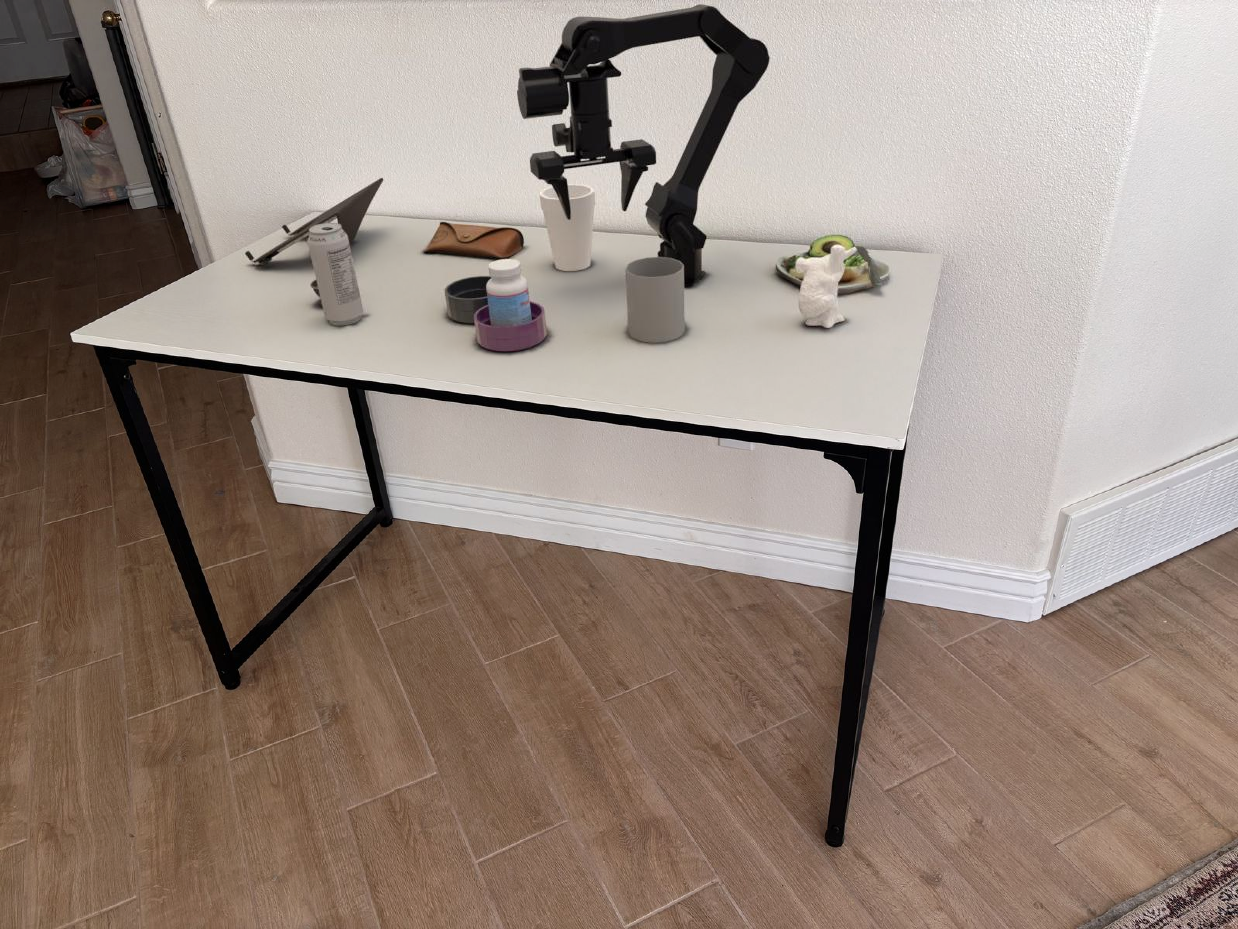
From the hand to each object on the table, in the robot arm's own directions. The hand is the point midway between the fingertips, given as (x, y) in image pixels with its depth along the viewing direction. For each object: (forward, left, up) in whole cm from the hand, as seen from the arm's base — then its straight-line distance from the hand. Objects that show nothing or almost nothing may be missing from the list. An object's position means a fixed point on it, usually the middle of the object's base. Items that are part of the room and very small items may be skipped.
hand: (596, 214), depth 146 cm
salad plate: (-33, -20, -13) cm, 41 cm away
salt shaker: (+41, +19, -13) cm, 47 cm away
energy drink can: (+34, +24, -13) cm, 44 cm away
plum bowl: (+4, +21, -13) cm, 25 cm away
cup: (-15, +11, -13) cm, 23 cm away
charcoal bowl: (+15, +14, -13) cm, 24 cm away
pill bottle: (+4, +21, -13) cm, 25 cm away
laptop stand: (+62, -1, -13) cm, 63 cm away
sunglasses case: (+33, -11, -13) cm, 37 cm away
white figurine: (-37, 0, -13) cm, 39 cm away
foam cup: (+11, -10, -13) cm, 20 cm away
